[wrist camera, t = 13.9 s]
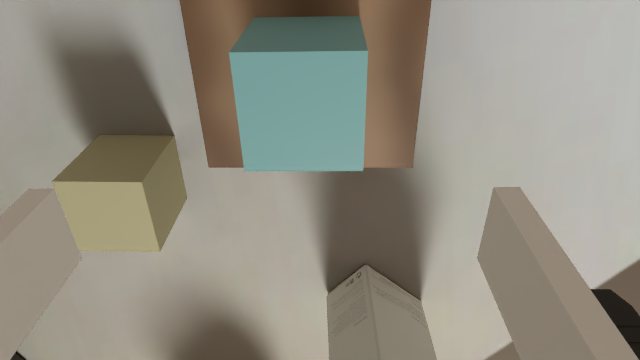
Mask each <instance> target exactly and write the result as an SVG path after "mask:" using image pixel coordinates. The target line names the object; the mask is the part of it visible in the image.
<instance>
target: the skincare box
mask: <svg viewBox="0 0 640 360" xmlns="http://www.w3.org/2000/svg"><path fill="white" fill-rule="evenodd" d="M327 318H328V340H329V360H437V358H436V355H435V351H434V347H433V344H432V340H431V336H430V333H429V329H428V325H427V322H426V318H425V314H424V311H423V307H422V302H421V301H420V300H418V299H417V298H415V297H414V296H412V295H411V294H409V293H408V292H406V291H405V290H403V289H402V288H400V287H399V286H397V285H396V284H394V283H393V282H392V281H390V280H389V279H387V278H386V277H384V276H382V275H381V274H379V273H378V272H376V271H375V270H373V269H372V268H370V267H369V266H368V265H364V266H363V267H361V268H360V269H359V270H358V271H356V272H355V273H354V274H353V275H351V276H350V277H349V278H347V279H346V280H345V281H343V282H342V283H341V284H339V285H338V286H337V287H336V288H334V289H333V290H332V291H330V292H329V293H328V296H327Z"/></svg>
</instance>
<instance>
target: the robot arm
mask: <svg viewBox="0 0 640 360" xmlns="http://www.w3.org/2000/svg"><path fill="white" fill-rule="evenodd" d="M81 259H82V257H81V254H80V252H79V249H78V247H77V244H76V242H75V239H74V237H73V234H72V232H71V229H70V227H69V224H68V221H67V219H66V216H65V214H64V211H63V209H62V206H61V204H60V201H59V199H58V196H57V194H56V191H55V189H29V190H28V191H27V192H26V193H24V194H23V195H22V196H21V197H20V198H19V199H18V200H17V201H16V202H15V203H14V204H13V205H12V206H11V207H9V208H8V209H7V210H6V211H5V212H4V213H3V214H2V215H1V216H0V360H23V359H22V358H21V357H20V356H18V355H17V354H15V352H16V351H17V349H18V348H19V347H20V345H21V344H22V342H23V341H24V339H25V338H26V337H27V335H28V334H29V332H30V331H31V330H32V328H33V327H34V325H35V324H36V322H37V321H38V320H39V318H40V317H41V315H42V314H43V313H44V311H45V310H46V308H47V307H48V305H49V304H50V303H51V301H52V300H53V298H54V297H55V296H56V294H57V293H58V291H59V290H60V288H61V287H62V286H63V284H64V283H65V281H66V280H67V279H68V277H69V276H70V274H71V273H72V271H73V270H74V269H75V267H76V266H77V264H78V263H79V262H80V260H81ZM477 259H478V261H479V263H480V266H481V268H482V270H483V273H484V275H485V277H486V280H487V282H488V284H489V287H490V289H491V291H492V294H493V296H494V298H495V301H496V303H497V305H498V308H499V310H500V312H501V315H502V317H503V319H504V322H505V324H506V326H507V329H508V331H509V333H510V336H511V338H512V340H513V343H514V345H515V347H516V350H517V352H518V354H519V357H520V359H521V360H640V316H639V315H638V313H637V312H636V311H635V310H634V308H633V307H632V306H631V305H630V304H629V303H627V302H626V301H625V300H623V299H622V298H621V297H619V296H618V295H617V294H616V293H614V292H613V291H612V290H610V289H590V288H589V287H588V285H587V284H586V282H585V281H584V279H583V278H582V277H581V275H580V274H579V272H578V271H577V269H576V268H575V266H574V265H573V264H572V262H571V261H570V259H569V258H568V256H567V255H566V253H565V252H564V251H563V249H562V248H561V246H560V245H559V243H558V242H557V240H556V239H555V237H554V236H553V235H552V233H551V232H550V230H549V229H548V227H547V226H546V224H545V223H544V222H543V220H542V219H541V217H540V216H539V214H538V213H537V211H536V210H535V208H534V207H533V206H532V204H531V203H530V201H529V200H528V198H527V197H526V195H525V194H524V193H523V191H522V190H521V188H520V187H494V188H493V192H492V196H491V201H490V205H489V209H488V214H487V218H486V222H485V226H484V231H483V235H482V239H481V244H480V248H479V252H478V257H477Z"/></svg>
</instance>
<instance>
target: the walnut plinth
mask: <svg viewBox="0 0 640 360" xmlns="http://www.w3.org/2000/svg"><path fill="white" fill-rule="evenodd" d="M180 5H181V11H182V17H183V22H184V28H185V34H186V40H187V45H188V51H189V57H190V63H191V68H192V74H193V80H194V86H195V91H196V97H197V103H198V109H199V114H200V120H201V126H202V132H203V137H204V143H205V149H206V155H207V160H208V166H209V167H244V165H243V157H242V149H241V142H240V134H239V126H238V118H237V111H236V103H235V95H234V88H233V80H232V72H231V64H230V57H229V52H230V50H231V49H232V48H233V46H234V45H235V43H236V42H237V40H238V39H239V38H240V36H241V35H242V33H243V32H244V31H245V29H246V28H247V26H248V25H249V24H250V22H251V21H252V19H253V18H254V17H323V16H360V19H361V23H362V28H363V32H364V36H365V40H366V44H367V48H368V66H367V92H366V117H365V143H364V168H412V167H413V158H414V149H415V140H416V132H417V123H418V114H419V105H420V96H421V88H422V79H423V70H424V61H425V52H426V44H427V35H428V26H429V17H430V8H431V0H180Z"/></svg>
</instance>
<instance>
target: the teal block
mask: <svg viewBox="0 0 640 360" xmlns="http://www.w3.org/2000/svg"><path fill="white" fill-rule="evenodd" d="M229 57H230V64H231V72H232V80H233V88H234V95H235V103H236V111H237V118H238V126H239V134H240V142H241V149H242V157H243V165H244V171H363V168H364V143H365V117H366V92H367V66H368V48H367V44H366V40H365V36H364V32H363V28H362V23H361V19H360V16H323V17H254V18H253V19H252V21H251V22H250V24H249V25H248V26H247V28H246V29H245V31H244V32H243V33H242V35H241V36H240V38H239V39H238V40H237V42H236V43H235V45H234V46H233V48H232V49H231V50H230V52H229Z"/></svg>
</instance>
